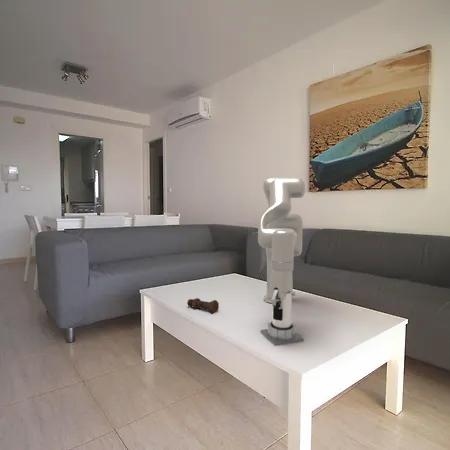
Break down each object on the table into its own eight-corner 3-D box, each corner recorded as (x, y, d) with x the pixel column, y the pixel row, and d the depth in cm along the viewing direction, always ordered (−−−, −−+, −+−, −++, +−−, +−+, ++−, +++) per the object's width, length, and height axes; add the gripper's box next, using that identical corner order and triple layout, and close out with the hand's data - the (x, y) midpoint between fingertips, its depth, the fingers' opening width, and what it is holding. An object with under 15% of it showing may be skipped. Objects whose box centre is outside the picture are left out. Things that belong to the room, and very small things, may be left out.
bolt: (190, 310, 140) (216, 315, 132) (183, 307, 137) (210, 312, 128) (194, 297, 143) (220, 302, 134) (187, 294, 139) (214, 298, 131)
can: (271, 321, 109) (271, 288, 109) (289, 321, 109) (289, 288, 109) (274, 328, 103) (274, 293, 102) (293, 328, 103) (293, 293, 102)
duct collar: (287, 329, 113) (287, 318, 113) (303, 341, 103) (304, 329, 103) (260, 332, 110) (260, 321, 110) (274, 345, 100) (274, 333, 99)
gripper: (282, 261, 114) (281, 308, 115) (261, 268, 100) (260, 322, 101) (301, 263, 110) (300, 312, 111) (282, 271, 96) (282, 327, 97)
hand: (281, 316), depth 106 cm, fingers closed on can, 6 cm apart
